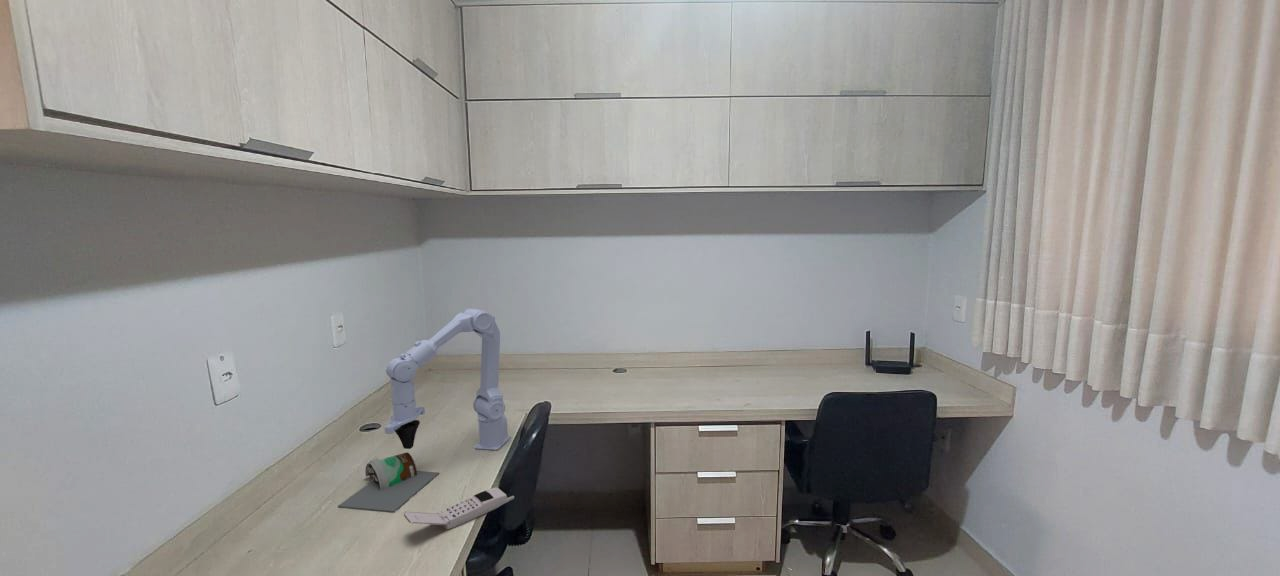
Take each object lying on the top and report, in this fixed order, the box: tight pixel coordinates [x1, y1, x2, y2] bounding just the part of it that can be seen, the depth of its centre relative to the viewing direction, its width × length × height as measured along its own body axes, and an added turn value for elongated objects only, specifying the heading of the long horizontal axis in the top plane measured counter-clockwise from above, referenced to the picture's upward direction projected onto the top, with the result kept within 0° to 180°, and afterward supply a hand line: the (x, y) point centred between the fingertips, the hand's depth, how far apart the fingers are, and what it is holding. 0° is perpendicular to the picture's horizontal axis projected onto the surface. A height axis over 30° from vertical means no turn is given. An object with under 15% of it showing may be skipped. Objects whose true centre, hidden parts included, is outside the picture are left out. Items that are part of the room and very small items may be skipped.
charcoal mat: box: [337, 470, 440, 513], centre depth 133 cm, size 19×16×1 cm
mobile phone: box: [403, 487, 515, 530], centre depth 119 cm, size 6×6×25 cm
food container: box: [365, 451, 418, 490], centre depth 139 cm, size 12×6×10 cm
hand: (408, 447), depth 140 cm, fingers closed
